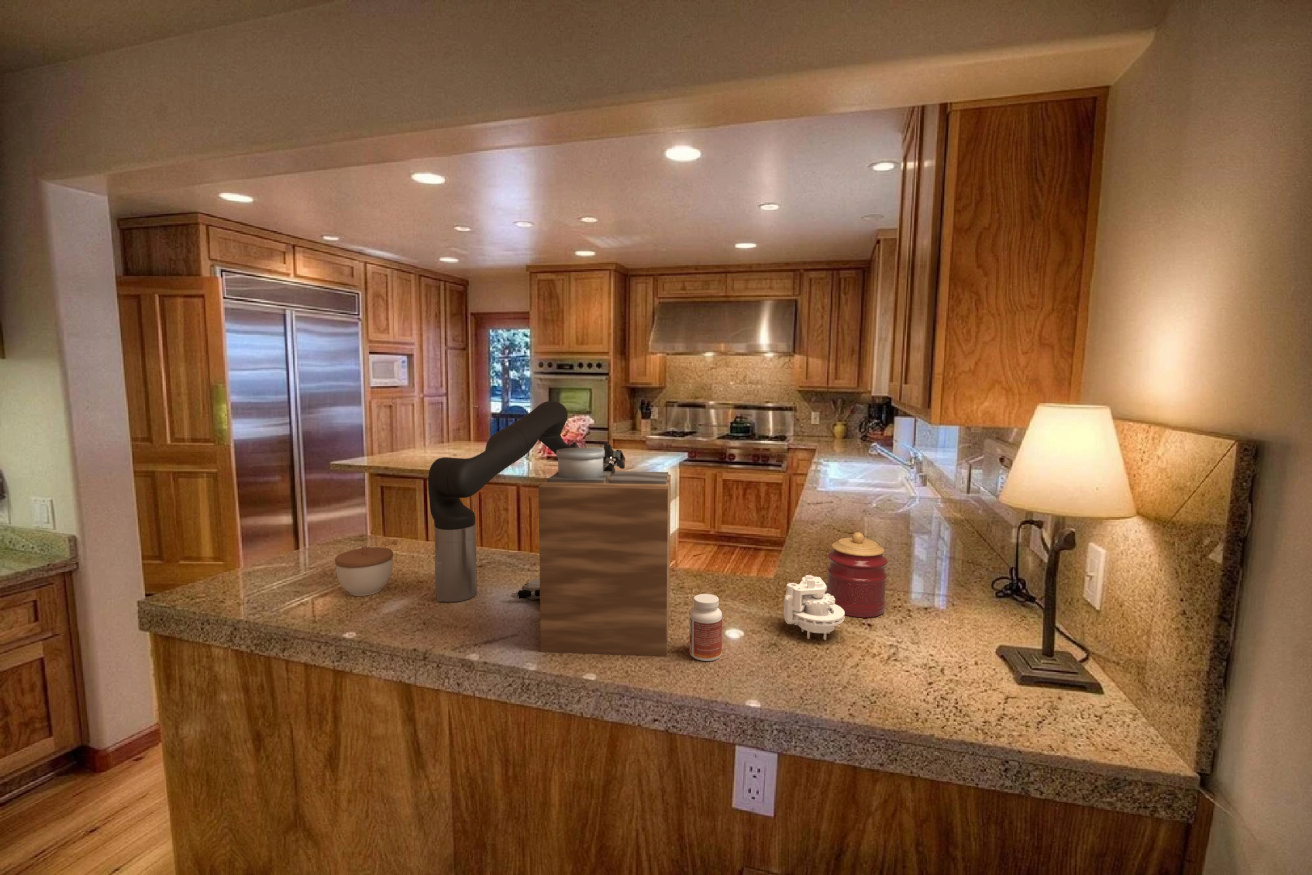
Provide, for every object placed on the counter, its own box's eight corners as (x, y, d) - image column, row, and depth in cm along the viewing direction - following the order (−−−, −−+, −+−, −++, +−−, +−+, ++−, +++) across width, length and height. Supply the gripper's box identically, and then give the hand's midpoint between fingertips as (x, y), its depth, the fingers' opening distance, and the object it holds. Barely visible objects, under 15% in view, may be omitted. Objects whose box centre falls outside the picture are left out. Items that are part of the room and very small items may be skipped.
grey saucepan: (600, 479, 110) (600, 453, 110) (551, 478, 111) (551, 453, 110) (615, 462, 133) (615, 441, 132) (575, 462, 133) (574, 440, 133)
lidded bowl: (365, 603, 132) (363, 557, 131) (324, 596, 136) (321, 551, 135) (405, 585, 144) (404, 542, 142) (366, 579, 148) (364, 537, 146)
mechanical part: (837, 651, 110) (839, 591, 109) (776, 637, 116) (778, 580, 115) (848, 629, 120) (851, 574, 119) (792, 617, 126) (793, 565, 125)
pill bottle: (728, 656, 108) (729, 599, 107) (703, 665, 104) (704, 607, 103) (707, 643, 113) (708, 589, 112) (682, 652, 109) (683, 596, 108)
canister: (836, 592, 141) (838, 522, 139) (891, 604, 133) (895, 531, 131) (817, 609, 130) (820, 534, 128) (876, 623, 123) (880, 543, 121)
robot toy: (508, 608, 132) (565, 613, 127) (507, 589, 132) (564, 593, 126) (537, 590, 143) (590, 594, 138) (536, 572, 143) (589, 575, 138)
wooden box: (666, 656, 108) (667, 485, 104) (540, 651, 109) (538, 483, 106) (669, 620, 123) (670, 471, 120) (559, 617, 125) (558, 469, 122)
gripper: (572, 458, 143) (559, 430, 128) (629, 459, 142) (623, 431, 127) (569, 486, 140) (555, 461, 125) (628, 488, 139) (621, 462, 124)
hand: (589, 446), depth 126 cm, fingers open, 6 cm apart
